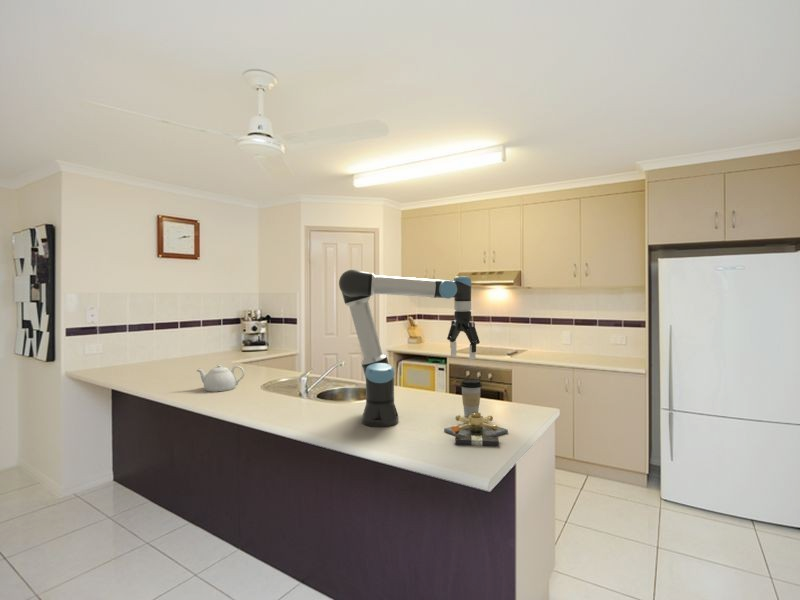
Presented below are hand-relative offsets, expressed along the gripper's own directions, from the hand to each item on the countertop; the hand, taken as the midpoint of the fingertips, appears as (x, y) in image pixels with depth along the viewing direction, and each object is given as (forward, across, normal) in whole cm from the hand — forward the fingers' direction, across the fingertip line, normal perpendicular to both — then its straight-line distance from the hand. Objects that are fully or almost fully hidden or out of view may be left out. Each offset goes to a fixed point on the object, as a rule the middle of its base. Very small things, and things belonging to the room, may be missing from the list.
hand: (462, 357), depth 201 cm
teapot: (+25, +106, +87) cm, 140 cm away
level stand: (+24, -32, +18) cm, 44 cm away
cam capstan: (+22, -29, +18) cm, 40 cm away
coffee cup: (+24, -9, +2) cm, 26 cm away
